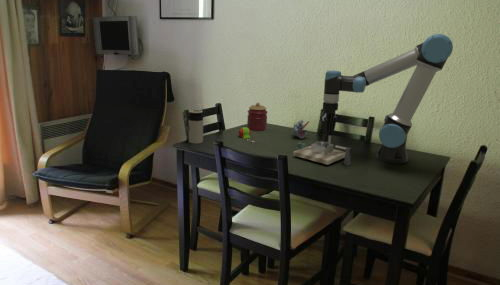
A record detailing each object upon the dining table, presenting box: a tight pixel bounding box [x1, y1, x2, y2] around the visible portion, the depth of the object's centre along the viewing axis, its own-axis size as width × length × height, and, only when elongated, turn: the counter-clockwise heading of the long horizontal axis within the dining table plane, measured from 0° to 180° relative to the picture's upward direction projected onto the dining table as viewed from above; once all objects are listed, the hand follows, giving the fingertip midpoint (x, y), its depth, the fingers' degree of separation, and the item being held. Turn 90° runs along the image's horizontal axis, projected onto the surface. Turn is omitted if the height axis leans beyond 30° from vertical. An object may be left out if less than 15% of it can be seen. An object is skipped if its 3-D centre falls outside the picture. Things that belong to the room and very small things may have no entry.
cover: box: [310, 140, 334, 155], centre depth 199 cm, size 8×8×5 cm
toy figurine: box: [290, 119, 310, 140], centre depth 237 cm, size 11×11×12 cm
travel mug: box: [188, 109, 204, 144], centre depth 218 cm, size 8×8×18 cm
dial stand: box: [335, 145, 352, 167], centre depth 191 cm, size 8×2×8 cm, turn 48°
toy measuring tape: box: [238, 126, 256, 144], centre depth 230 cm, size 6×20×7 cm, turn 22°
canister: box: [246, 102, 268, 132], centre depth 254 cm, size 13×13×18 cm
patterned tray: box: [292, 141, 345, 165], centre depth 200 cm, size 24×20×4 cm
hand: (326, 147), depth 202 cm, fingers closed
